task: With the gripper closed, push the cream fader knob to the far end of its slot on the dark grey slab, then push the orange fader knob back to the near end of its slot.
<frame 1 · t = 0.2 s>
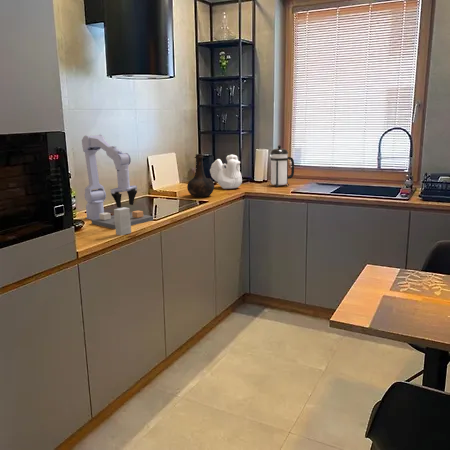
hand: (125, 206, 228), 10 cm above the table, tool pointing down, fingers open, 7 cm apart
dark brown vase: (201, 196, 307), on the table
coffee press: (280, 186, 344), on the table
cream fader: (105, 216, 235), point 4 cm above the table, slide at -7.0 cm
skincare box: (123, 234, 215), on the table
orange fader: (137, 214, 239), point 4 cm above the table, slide at 6.0 cm
dark grey slab: (122, 221, 238), on the table
decorative rooster: (226, 188, 339), on the table
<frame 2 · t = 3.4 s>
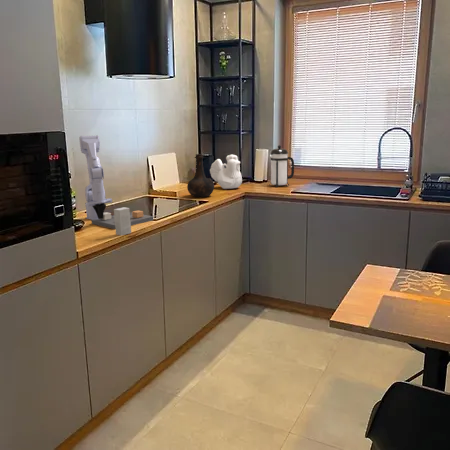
hand: (100, 218, 234), 3 cm above the table, tool pointing down, fingers closed
cream fader: (105, 216, 236), point 4 cm above the table, slide at -6.6 cm, touching gripper
everything else where it was.
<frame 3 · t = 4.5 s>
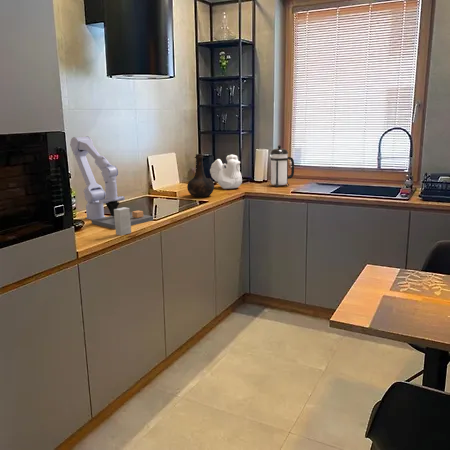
hand: (113, 215, 239), 3 cm above the table, tool pointing down, fingers closed
cream fader: (118, 213, 242), point 4 cm above the table, slide at 1.2 cm, touching gripper
everything else where it was.
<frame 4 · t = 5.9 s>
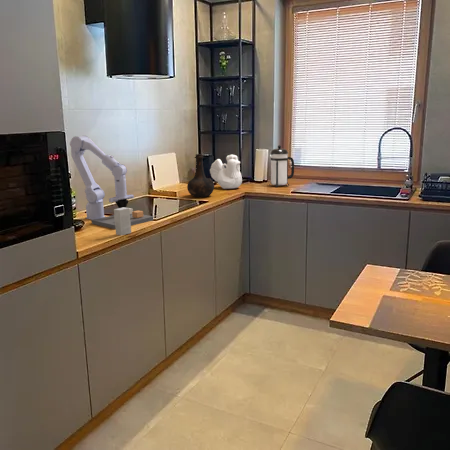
hand: (122, 213, 244), 3 cm above the table, tool pointing down, fingers closed
cream fader: (127, 211, 246), point 4 cm above the table, slide at 7.2 cm, touching gripper
everything else where it was.
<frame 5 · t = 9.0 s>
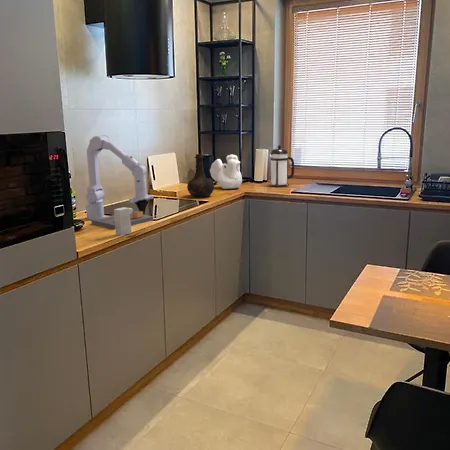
hand: (142, 214, 241), 3 cm above the table, tool pointing down, fingers closed
cream fader: (127, 211, 246), point 4 cm above the table, slide at 7.3 cm
orange fader: (137, 214, 239), point 4 cm above the table, slide at 5.8 cm, touching gripper
everything else where it was.
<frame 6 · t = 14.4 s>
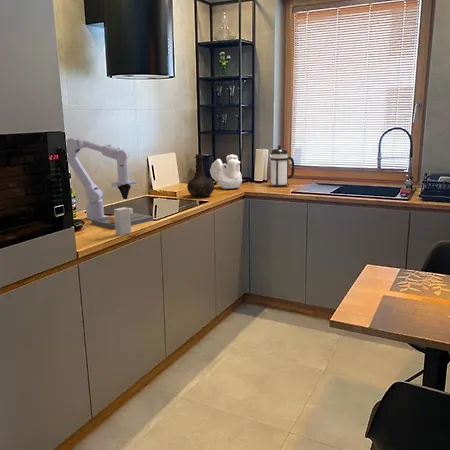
hand: (125, 198, 245), 10 cm above the table, tool pointing down, fingers closed
orange fader: (115, 219, 228), point 4 cm above the table, slide at -8.3 cm
everything else where it was.
at the end: cream fader slide at 7.3 cm; orange fader slide at -8.3 cm; skincare box moved 0.2 cm from its start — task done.
